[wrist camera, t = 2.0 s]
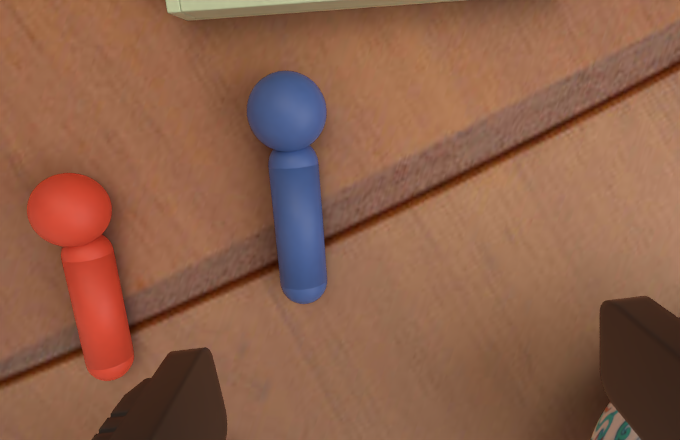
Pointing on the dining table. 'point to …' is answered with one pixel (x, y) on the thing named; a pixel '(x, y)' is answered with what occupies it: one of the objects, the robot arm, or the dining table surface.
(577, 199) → the dining table surface
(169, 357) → the robot arm
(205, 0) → the sorting tray
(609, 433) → the chinaware
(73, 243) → the red ball-tipped rod
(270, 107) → the blue massage wand
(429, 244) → the dining table surface
